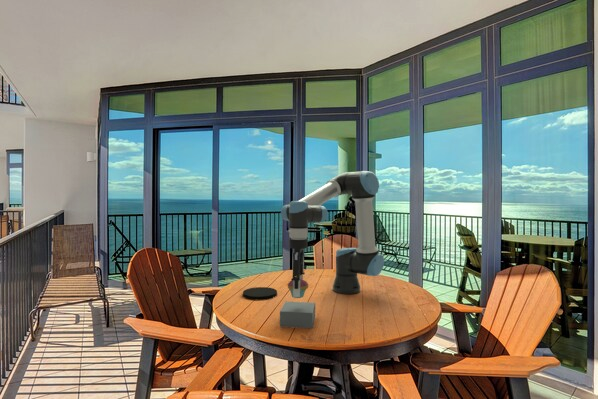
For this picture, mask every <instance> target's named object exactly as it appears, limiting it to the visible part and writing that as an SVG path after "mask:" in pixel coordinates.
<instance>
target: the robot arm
mask: <svg viewBox="0 0 598 399" xmlns="http://www.w3.org/2000/svg"><path fill="white" fill-rule="evenodd" d="M379 189H380V183H379V179H378V177H377V175H376V174H375V173H374V172H373V171H368V170H361V171H346V172H343V173H340V174H339V175H336V176H334V177H332V178H331V179H329V180H327V181H326V182H325V185H323V186H321V187H320V188H317V189H316V190H315V191H313V192H311V193H309V194H308V195H305V196H304V197H303V198H301V199H299V200H292V201H290V202H289V204H284V205H283V206H282V208H281V209H280V215H281V218H282V219H283V220H284V221H288V222H289V227H288V230H287V232H288V233H289V240H288V242H289V243H288V246H289V248H290V249H291V250H292V249H294V252H293V253H292V278H291V279H290V281H291V280H293V297H300V279H302V280H304V275H306V274H305V272H304V249H307V248H308V242H309V241H308V239H307V238H309V236H308V235H309V233H308V232H309V231H308V230H309V229H308V224H312V223H315V224H319V223H323V222H325V221H326V220H327V218H328V215H329V214H328V213H329V212H328V210H327V207H326V206H324V204H325V203H326V202H328V201H330V200H332V199H334V198H338V197H339V196H343V195H351V199H352V200H353V201H354V202H355V203H354V204H355V217H356V229H357V230H356V232H357V241H358V247H345V248H339V249H337V250H336V252H335V277H334V281H333V284H332V291H334V292H335V293H339V294H342V295H343V294H344V295H345V294H346V295H347V294H349V295H350V294H351V295H352V294H357V293H358V294H359V293H360V292H361V284H360V280H359V278H358V274H359V275H364V276H368V277H371V276H372V277H377V276H379V274H381V272H382V271H383V269H384V265H385V257H384V256H383V254H381V253H380V252H379V250H380V249H379V248H378V247H377V246H376V239H375V238H376V236H375V223H374V221H375V220H374V209H373V208H374V207H373V200H374V199H375V197H376V194H377V193H379ZM293 297H292V298H293Z"/></svg>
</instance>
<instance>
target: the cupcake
mask: <svg viewBox="0 0 598 399" xmlns="http://www.w3.org/2000/svg"><path fill="white" fill-rule="evenodd" d="M308 288H309V283H308V282H307V281H306V280H304V279H303V280H302V279H300V297H293V280H291V279H290V281H289V282H288V283H287V289H288V290H289V291H290V295H291V297H292V298H293V299H294V298H295V299H301V298H304V297H305V292H306V290H307V289H308Z"/></svg>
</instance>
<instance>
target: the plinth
mask: <svg viewBox="0 0 598 399" xmlns="http://www.w3.org/2000/svg"><path fill="white" fill-rule="evenodd" d="M315 320H316V302H306V301H286V300H285V302H284V303H283V305H282V307H281V309H280V311H279V327H282V328H299V329H304V328H305V329H313V327H314V324H315Z"/></svg>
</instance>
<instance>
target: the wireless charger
mask: <svg viewBox="0 0 598 399" xmlns="http://www.w3.org/2000/svg"><path fill="white" fill-rule="evenodd" d="M277 295H278V290H277V289H275V288H273V287H265V286H262V287H261V286H257V287H256V286H255V287H250V288H247V289H244V290H243V291H242V297H243V298H245V299H247V300H251V301H252V300H253V301H264V300H272V299H273V297H274V298H276V297H277ZM275 296H276V297H275Z"/></svg>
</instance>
